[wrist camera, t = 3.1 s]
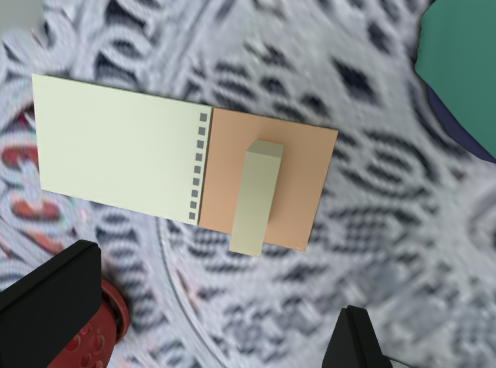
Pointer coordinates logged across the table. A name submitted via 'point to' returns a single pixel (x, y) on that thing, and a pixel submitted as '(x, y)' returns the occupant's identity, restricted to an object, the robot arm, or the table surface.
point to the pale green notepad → (122, 147)
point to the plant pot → (97, 334)
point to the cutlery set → (461, 71)
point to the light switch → (264, 179)
